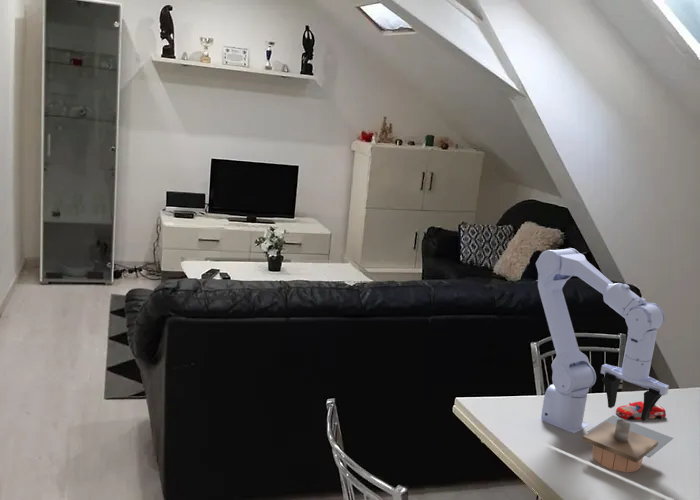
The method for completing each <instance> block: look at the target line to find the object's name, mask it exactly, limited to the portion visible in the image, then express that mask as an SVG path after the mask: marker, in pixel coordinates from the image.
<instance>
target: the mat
mask: <svg viewBox="0 0 700 500" xmlns="http://www.w3.org/2000/svg"><path fill="white" fill-rule="evenodd" d="M619 419H622V420H626V421H628V422H630V429H629V430H630V431H632V432H635V433H637V434H640V435H643V436H645V437H648V438H650V439H653V440H655V441H658V445H657V446H656V447H655V448H654V449H653V450H651V451H650V452H649V453H648V454H647V455H645V456H644V457H646V458H647V457H648V458H651V457H652V456H654V454H655V453H657V452H659V450H660V449H662V448H663V447H664V446H666V445H667V444H668V443H669V442H671V441H672V440H673V439H674V438H673V437H671V436H669V435H666V434H664V433H661V432H659V431H655V430H654V429H650V428H648V427H646V426H643V425H640V424H637V423H635V422H633V421H631V420H630V421H629V420H627V419H624V418H621V417H619V416H618V415H611V416H610V417H608V418H606V419H604V421H602V422H599V423H598V424H597V425H595V426H594V427H592V428H591V429H589V430H587V431H586V432H587V433H589V432H590V431H592V430H593V429H595V428H597V427H598V426H600V425H601V424H603V423H604V422H609V423H612V424H614V425H616V423H617V420H619Z"/></svg>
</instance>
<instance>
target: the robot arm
mask: <svg viewBox="0 0 700 500" xmlns="http://www.w3.org/2000/svg"><path fill="white" fill-rule="evenodd" d="M535 267H536V269H537V288H538V292H539V297H540V300H541V303H542V307H543V310H544V311H543V312H544V314H545V318H546V322H547V326H548V330H549V333H550V336H551V339H552V343H553V348H554V349H555V350H554V352H555V354H556V356H555V358H554V359H553V361H552V363H551V365H550V366H551V370H552V376H551V380H552V384H549V386H548V387H547V388H546V390H545V393H544V397H543V401H542V402H543V403H542V408H541V409H542V410H541V416H540V417H539V420H541V421H543V422H545V423H547V424H550V425H553V426H555V427H558V428H560V429H562V430H565V431H566V432H570V433H572V434H577V433H578V432H579V431H581V430H583V429H584V428H586V427H587V426H589V425H590V424H589V423H587V422H586V421H585V422H584V416H585V411H586V405H587V404H586V403H587V400H588V399H587V398H588V393H589V390H590V388H591V387H593V386H594V385H595V383H596V381H597V374H596V371H595V369H594V367H593V366H592V365H591V363H590V361H589V358H588V356H587V355H586V354H585V353H583V352H582V351H581V350H580V348H579V345H578V341H577V337H576V335H575V330H574V327H573V323H572V320H571V316H570V312H569V309H568V305H567V302H566V298H565V295H564V292H563V288H564V286H565V285H566V283H567V281H568V280H570V279H571V278H572V277H577V278H578V279H580V280H581V281H583V282H585V283H586V284H588V285H589V286H590V287H592V288H593V289H595V290H596V291H597V292H599V293H600V294H602V296H603V297H602V298H603V302H604V303H605V304H606V305H608V306H609V308H611V309H613V310H614V311H615V312H616V313H617V314H619V316H621V317H622V318H624V319H625V323H626V326H627V337H626V342H625V348H624V355H623V360H622V364H621V367H619V366H615V365H611V364H608V363H605V364H602V365H601V367H600V374H602V375H604V376H603V377H602V380H601V381H602V384H603V386H604V388H605V392H606V398H607V407H608V408H609V409H612V408H614V407H615V406H616V402H617V397H618V396H617V395H618V391H619V387H620V384H621V381H625V382H628V383H631V384H632V385H636V386H639V387H642V388H644V389H647V390H646V391H645V392H644V391H643V402H644V405H643V411H642V415H641V421H643V422H645V421H647V420H649V419H648V416H649V414H650V412H651V410H652V408H653V406H654V405H655V404H657V402H658V401H659V400H660V398H661V397H662V396H663V397H664V396H666V395H668V392H669V388H670V385H669V384H666V383H663V382H661V381H660V380H657V379H655V378H653V377H651V376H649V375H650V372H651V371H650V370H651V366H652V365H651V364H652V361H653V360H652V359H653V356H654V355H653V354H654V350H655V345H656V340H657V334H658V329H659V328H661V327H662V326H663V325H664V323H665V319H666V318H665V317H666V316H665V312H664V311H663V309H662V308H661V307H660V306H659V304H657V303H654V302H647V299H645V298H644V297H640V296H639V295H637V293H635V292H634V291H632V290H631V289H630V286H629V285H628V284H627V283H621V282H617V283H614V282H612V281H611V280H610V279H609V278H608V277H606V276H605V275H604V274H603V273H602V272H601V271H600V270H599V269H597V268H596V267H595V266H594V265H593V264H592V263H590V261H588V260H587V258H586V256H585V255H584V254H583V253H580V252H579V251H578V250H577V249H575V248H572V247H568V248H564V249H563V248H562V249H547V250H544V251H542V252H541V253H540V254H539V257H538V258H537V260H536V262H535Z"/></svg>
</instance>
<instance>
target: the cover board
mask: <svg viewBox="0 0 700 500" xmlns="http://www.w3.org/2000/svg"><path fill="white" fill-rule="evenodd" d="M622 419H623V418H622ZM622 419H619V420H617V423H616V425H614V424H612V423H609V422H604V423H603V424H601V425H600V426H598V427H597V428H595V429H593V430H592V431H590V432H589V433H588V432H587V433H586V434H584V435H583V436H582V440H581V441H582V442H585V443H588V444H590V445H592V446H594V445H595V446H597V447H599V448H602V449H604V450H607V451H609V452H611V453H614V454H616V455H619V456H621V457H623V458H626V459H628V460H630V461H633V462H635V463H637V462H638V461H639V460H640V459H642V458H644V457H646V456H645V455H647V454H648V453H649V452H650V451H651V450H653V449H654V448H655V447H656V446H657V445H658V441H655V440H653V439H650V438H648V437H645V436H643V435H640V434H637V433H635V432H632V431H630V430H629V429H630V422H631V421H630V422H628V421H629V420H627V419H625V420H622ZM626 420H627V421H626ZM642 460H643V459H642Z"/></svg>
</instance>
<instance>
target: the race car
mask: <svg viewBox="0 0 700 500" xmlns="http://www.w3.org/2000/svg"><path fill="white" fill-rule="evenodd" d="M643 405H644V401H635V402H632V403H631V402H629V404H625V405H620V406H618V407H617V408H616V409H615V414H616V416H617V417H619V418H622V419H625V420H627V421H629V420H630V421H634V420H636V421H637V420H638V421H639V420H641V415H642V411H643ZM666 416H667V413H666V409H665V408H664V407H662V406H661V405H659V404H657V403H655V405H654V406H653V408H652V410H651V412H650V414H649V416H648V419H647V420H663V419H666ZM641 421H642V420H641Z"/></svg>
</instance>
